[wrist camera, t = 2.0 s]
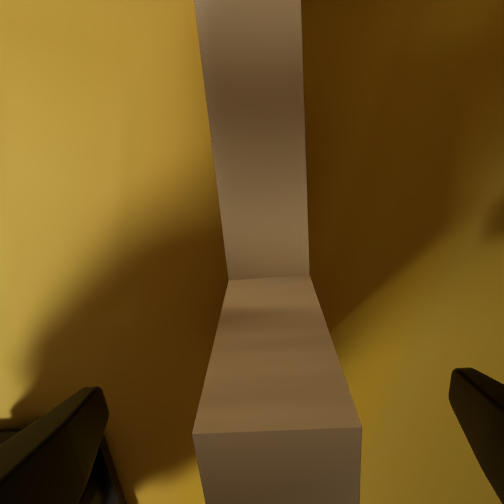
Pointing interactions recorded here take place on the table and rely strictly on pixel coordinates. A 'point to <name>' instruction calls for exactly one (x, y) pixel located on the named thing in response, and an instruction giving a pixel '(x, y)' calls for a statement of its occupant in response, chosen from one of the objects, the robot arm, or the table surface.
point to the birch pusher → (267, 279)
